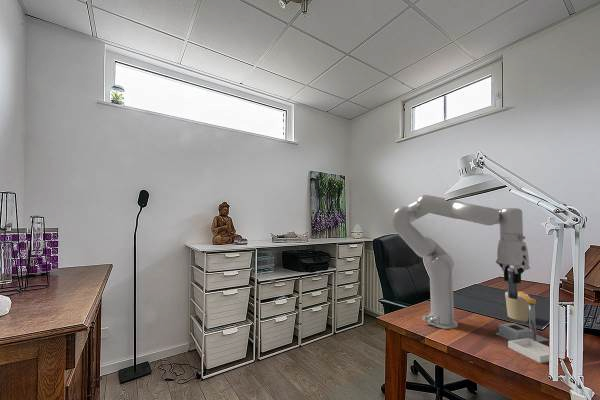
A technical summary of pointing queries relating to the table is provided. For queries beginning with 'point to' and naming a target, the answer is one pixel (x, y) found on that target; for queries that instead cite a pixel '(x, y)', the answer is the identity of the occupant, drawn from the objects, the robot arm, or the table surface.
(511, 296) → the pin
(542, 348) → the tray
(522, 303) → the coffee cup
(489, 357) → the table surface
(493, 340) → the table surface
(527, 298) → the yellow curved piece
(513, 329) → the hitch
